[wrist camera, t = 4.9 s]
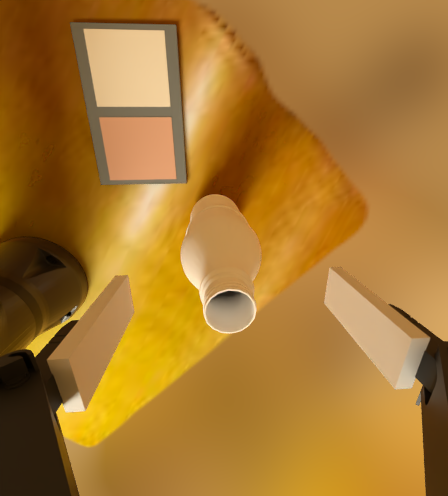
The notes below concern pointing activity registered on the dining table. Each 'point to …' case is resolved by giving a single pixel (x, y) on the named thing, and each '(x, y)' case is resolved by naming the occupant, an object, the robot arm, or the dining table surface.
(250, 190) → the dining table surface
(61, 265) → the robot arm
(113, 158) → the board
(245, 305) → the water bottle
